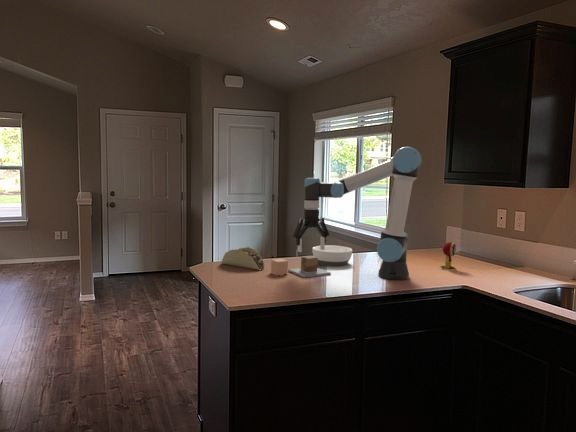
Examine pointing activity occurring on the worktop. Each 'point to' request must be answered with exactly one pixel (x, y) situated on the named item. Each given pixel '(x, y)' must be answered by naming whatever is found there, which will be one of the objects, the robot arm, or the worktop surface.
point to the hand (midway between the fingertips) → (311, 250)
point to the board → (309, 274)
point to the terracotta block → (279, 266)
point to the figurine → (448, 255)
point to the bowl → (332, 255)
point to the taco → (244, 258)
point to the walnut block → (309, 263)
